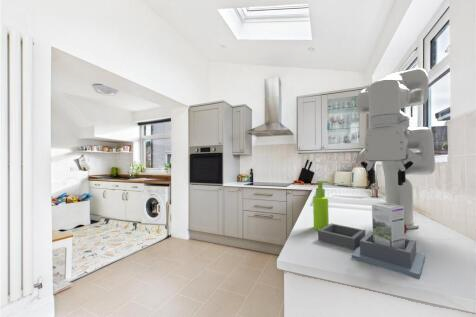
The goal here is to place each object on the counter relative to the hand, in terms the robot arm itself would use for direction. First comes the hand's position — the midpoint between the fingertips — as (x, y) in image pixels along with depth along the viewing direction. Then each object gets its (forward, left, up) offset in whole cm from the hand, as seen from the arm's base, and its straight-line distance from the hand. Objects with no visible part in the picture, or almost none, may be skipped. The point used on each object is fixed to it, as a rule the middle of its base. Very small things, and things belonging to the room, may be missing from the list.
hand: (386, 183), depth 60 cm
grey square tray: (-5, -14, -22) cm, 26 cm away
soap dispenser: (-13, -25, -22) cm, 36 cm away
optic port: (0, 0, -22) cm, 22 cm away
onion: (-21, -1, -22) cm, 30 cm away
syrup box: (0, 0, -21) cm, 21 cm away
